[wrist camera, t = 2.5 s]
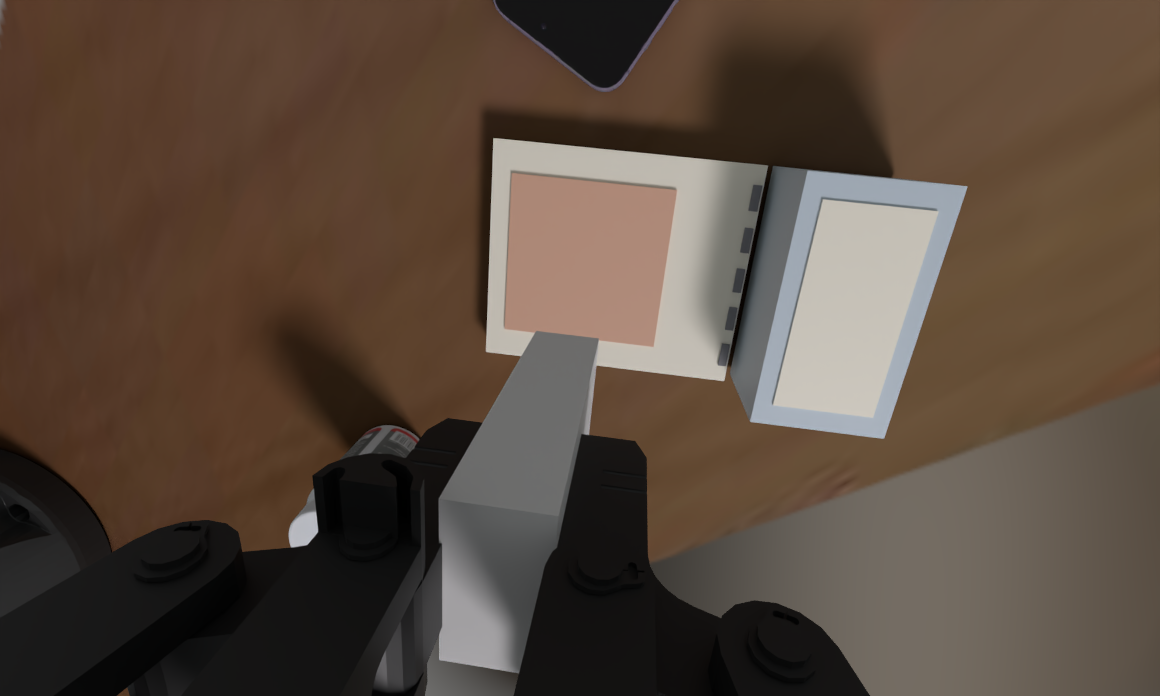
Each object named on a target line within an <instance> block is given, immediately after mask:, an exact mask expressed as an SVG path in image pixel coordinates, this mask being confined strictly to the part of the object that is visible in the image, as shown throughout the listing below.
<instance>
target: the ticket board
mask: <svg viewBox="0 0 1160 696" xmlns="http://www.w3.org/2000/svg"><path fill="white" fill-rule="evenodd" d="M767 169H768V166H767V165H759V164H749V163H739V162H729V161H719V160H709V159H699V158H689V157H679V156H669V155H659V154H649V153H639V152H629V151H619V150H609V149H599V148H589V147H579V146H569V145H559V144H549V143H539V142H529V141H519V140H509V139H499V138H493V165H492V194H491V222H490V251H489V280H488V308H487V337H486V352H492V353H500V354H508V355H516V356H522V354H523V353H524V351H525V349H526V347H527V346H528V344H529V342H530V341H531V339H532V337H533V335H534V334H535V332H536V331H541V332H550V333H558V334H566V335H575V336H583V337H591V338H599V345H598V354H597V363H596V365H597V366H605V367H614V368H622V369H630V370H638V371H646V372H654V373H662V374H671V375H679V376H687V377H695V378H703V379H711V380H719V381H724V379H725V374H726V369H727V364H728V360H729V355H730V350H731V345H732V340H733V335H734V330H735V325H736V320H737V316H738V311H739V306H740V301H741V296H742V291H743V286H744V281H745V276H746V272H747V267H748V262H749V257H750V252H751V247H752V242H753V237H754V232H755V227H756V223H757V218H758V213H759V208H760V203H761V198H762V193H763V188H764V183H765V179H766V174H767Z"/></svg>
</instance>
